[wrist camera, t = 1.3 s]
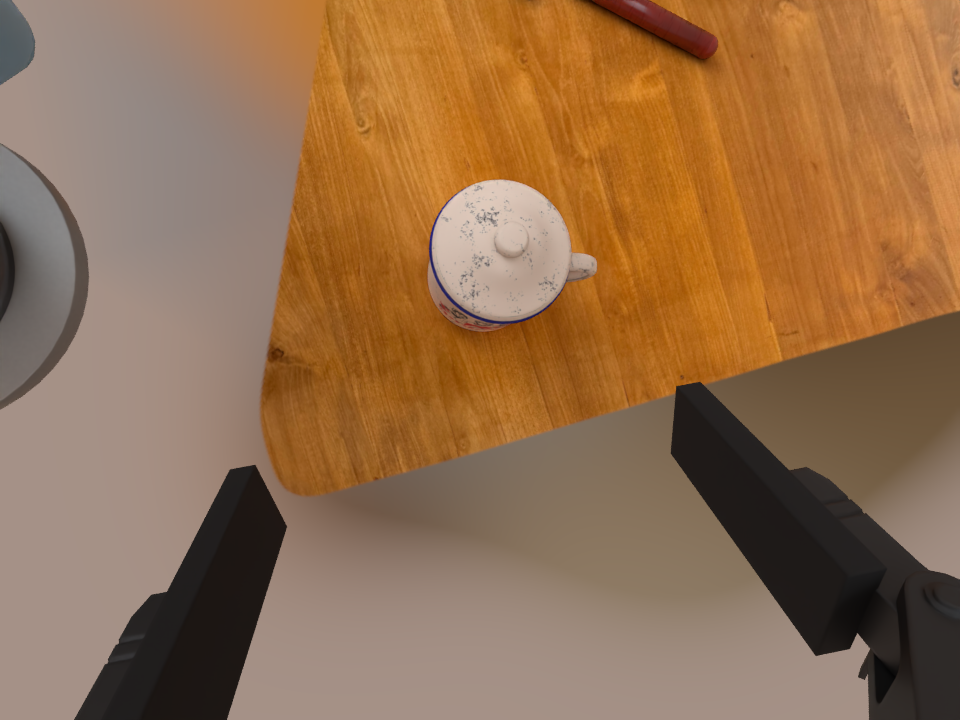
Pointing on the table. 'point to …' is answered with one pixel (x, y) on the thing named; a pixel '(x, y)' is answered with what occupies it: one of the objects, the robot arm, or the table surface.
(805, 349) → the table surface
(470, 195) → the teacup with lid
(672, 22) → the spatula
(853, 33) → the table surface
